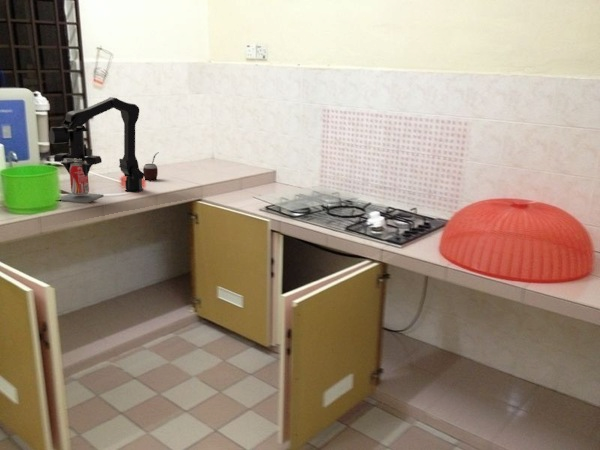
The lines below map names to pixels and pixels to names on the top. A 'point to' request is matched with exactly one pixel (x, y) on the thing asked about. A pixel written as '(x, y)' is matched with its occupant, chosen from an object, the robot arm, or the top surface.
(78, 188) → the soda can
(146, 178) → the mate gourd
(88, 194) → the charcoal mat
